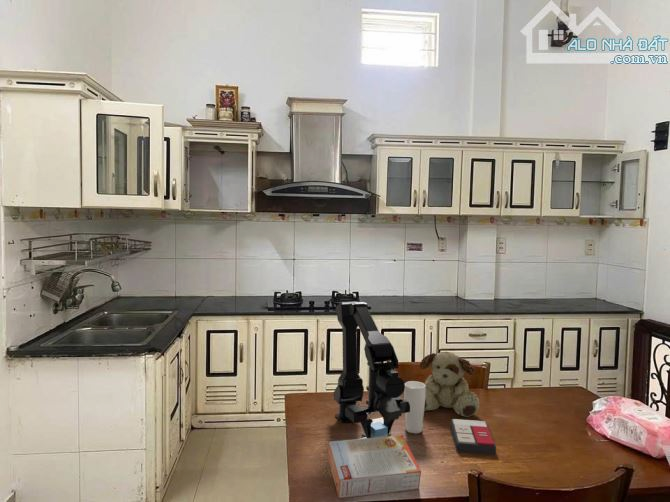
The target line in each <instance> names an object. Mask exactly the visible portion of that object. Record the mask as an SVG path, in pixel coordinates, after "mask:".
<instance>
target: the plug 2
mask: <svg viewBox="0 0 670 502" xmlns="http://www.w3.org/2000/svg"><path fill="white" fill-rule="evenodd" d="M388 436H389V435H388V427H387V426H385V425H384V424H383V423H381V422H376V423H372V424H371V438H376V437H388Z"/></svg>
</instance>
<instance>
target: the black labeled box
mask: <svg viewBox="0 0 670 502" xmlns="http://www.w3.org/2000/svg"><path fill="white" fill-rule="evenodd" d="M450 432H451V435H452V439H453V443H454V447H455V451H456V452H457V453H464V454H476V455H477V454H478V455H488V456H489V455H490V456H496V454H497V452H496V451H497V445H496V443H495V440H494V438H493V435H492V434H491V431H490V428H489V425H488V423H487V422H486V421H484V420H473V419H472V420H471V419H460V418H459V419H457V418H452V419H450Z"/></svg>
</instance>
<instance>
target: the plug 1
mask: <svg viewBox="0 0 670 502" xmlns="http://www.w3.org/2000/svg"><path fill="white" fill-rule="evenodd" d="M371 420H373V422H372V423H376V422H381V423H383V424H384V419H383V417H382V416H381V417H379V418H372V419H371ZM372 423H371V424H372ZM362 435H363V436H364V437H366V435H365V432H364V430H363V429H362ZM389 435H390V436H391V435H392V429H391V430H390V432H389ZM389 435H388V436H389Z"/></svg>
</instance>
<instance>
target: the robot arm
mask: <svg viewBox="0 0 670 502" xmlns="http://www.w3.org/2000/svg"><path fill="white" fill-rule="evenodd" d="M335 313H336V317H337V322H338V323H339V324H340V326H341V328H342V330H341V331H342V371H341V374H340V375H339V377H338V379H337V386H336V387H335V389H334V391H333V400H334V402H336V403H337V404H338V413H335V414H334V416H335V417H336V418H337V419H338V420H339V421H340V422H341V423H343V424H345V423H351V422H352V423H354V424H359V423H360V425H361V427H362V431H363V430H364V432H365V435H366V436H365V435H364V436H365V437H367V438H371V423H372V422H373V420H372V419H371V415H372V414H377V413H379V414H380V416H381V417H383V419H384V425H385V426H387V427H388V436H389V432H390V430H391V431H392V427H393V425H394V423H395V420H398V419H400V417H401V416H402V414H405V413H407V412H410V404H409V402H408V401H406V400H405V399H404V397H401V395H403V394H404V389H405V381H404V380H403V379H402V378H401V377H400V376H399V372H398V371H397V370H396V369H399V368H400V367H399V359H398V357H397V356H398V355H397V354H396V351H395V348H394V346H393V344H392V343H391V341H390V339H389V338H388V337H387V336H385V334H382V333H381V332H380V330H379V329H378V326H377V325H376V322H375V320H374V318H373V317H372V314H371V313H370V311H369V306H368V303H367V302H365V301H339V303H338V305H336V307H335ZM357 328H359V331H360V333H361V335H362V337H363V340H364V341H365V344H364V355H365V359H366V360H367V363H366V364H367V366H368V385H367V386H366V387H364V384H363V379H362V378H361V376H360V375H359V373H358V342H357V341H358V340H357V339H358V334H357V333H358V331H357ZM365 389H366V391H368V399H366V400H365V404H366V405H367V406H366V407H362V405H360V404H357V402H362V401H363V396H364V391H365Z"/></svg>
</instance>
